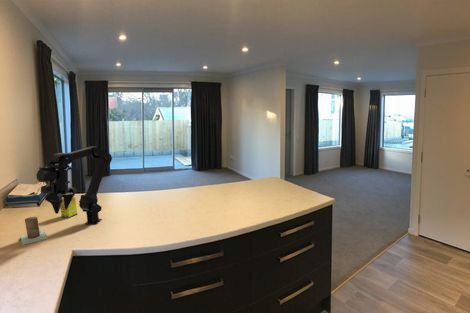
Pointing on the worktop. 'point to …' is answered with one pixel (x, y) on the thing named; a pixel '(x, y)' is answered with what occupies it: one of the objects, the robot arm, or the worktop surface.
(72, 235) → the worktop surface
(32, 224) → the walnut canister
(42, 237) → the sage green board
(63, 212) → the supplement box
